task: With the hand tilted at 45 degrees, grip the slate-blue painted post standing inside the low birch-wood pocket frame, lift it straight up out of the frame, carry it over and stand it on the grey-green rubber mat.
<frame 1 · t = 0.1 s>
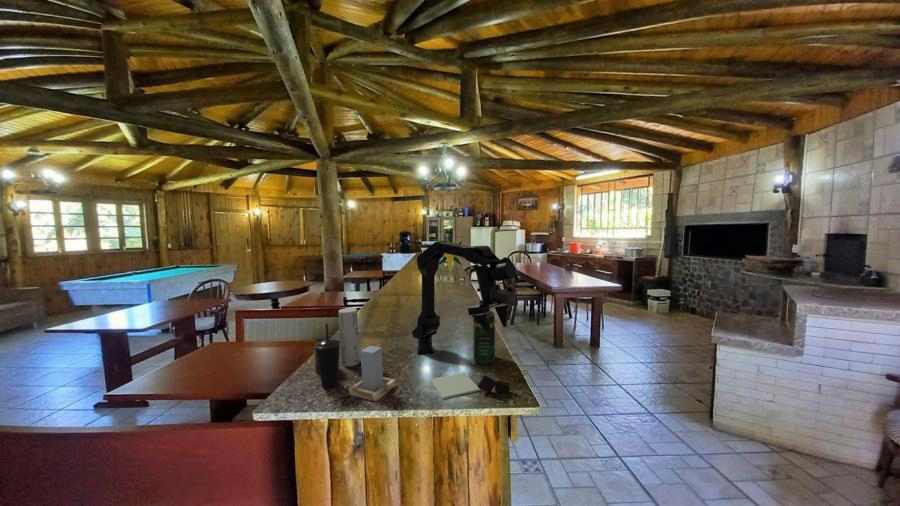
hand: (497, 330, 107), 15 cm above the table, tool pointing down, fingers open, 9 cm apart
spray can: (350, 363, 122), on the table
post: (372, 369, 101), in the pocket
lighter: (493, 392, 99), on the table
supplement bottle: (325, 370, 117), on the table
pocket: (373, 390, 102), on the table
coffee jar: (484, 360, 122), on the table
mat: (454, 385, 103), on the table
drinking cup: (330, 385, 106), on the table
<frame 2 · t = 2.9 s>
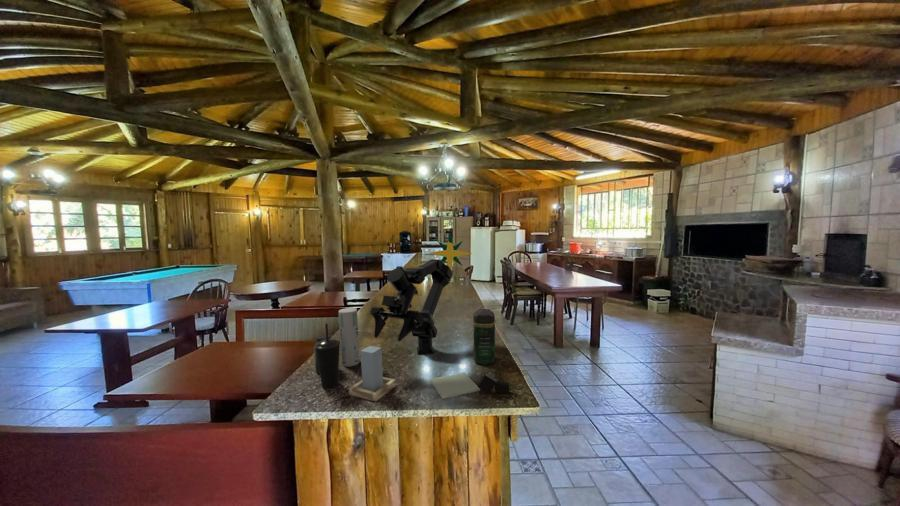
hand: (386, 339, 108), 13 cm above the table, tool tilted 45°, fingers open, 9 cm apart
nothing on the table moved.
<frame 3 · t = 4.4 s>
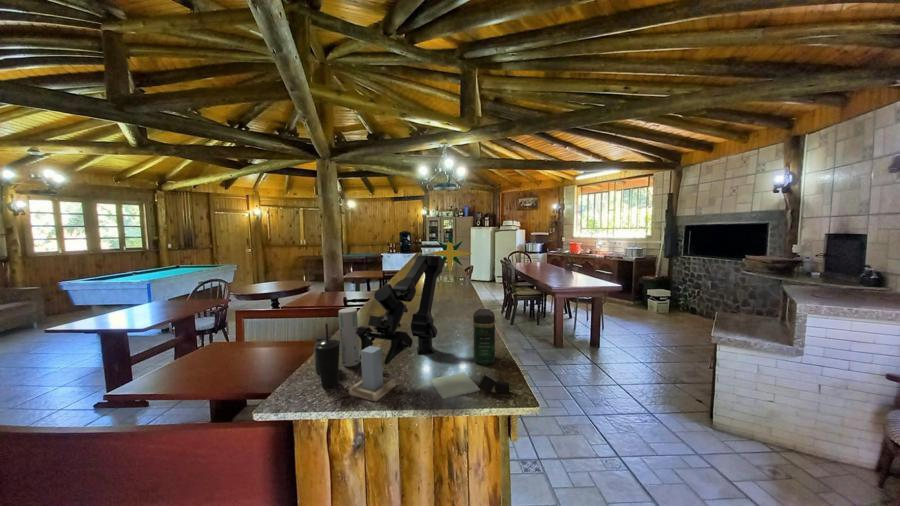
hand: (373, 361, 101), 9 cm above the table, tool tilted 45°, fingers open, 9 cm apart
nothing on the table moved.
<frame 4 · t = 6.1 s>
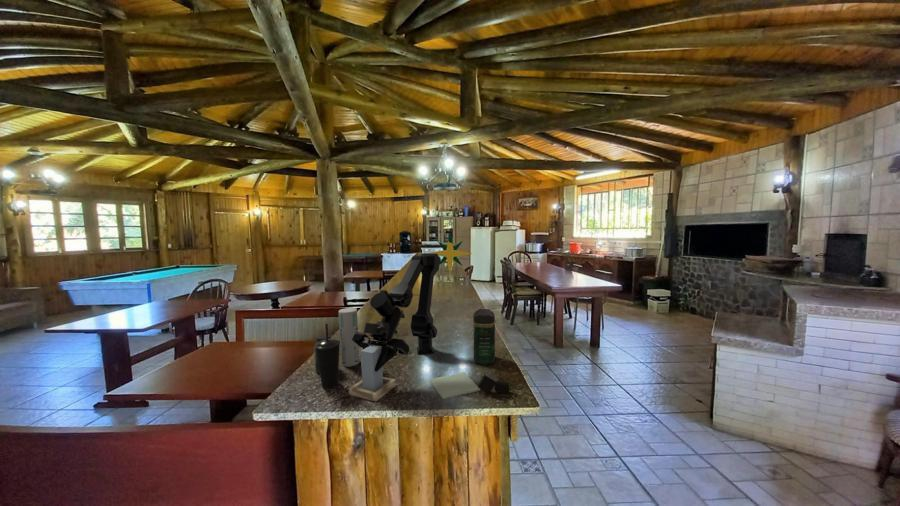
hand: (369, 369, 100), 7 cm above the table, tool tilted 45°, fingers closed on post, 4 cm apart
post: (372, 369, 101), in the pocket, touching gripper
everything else where it was.
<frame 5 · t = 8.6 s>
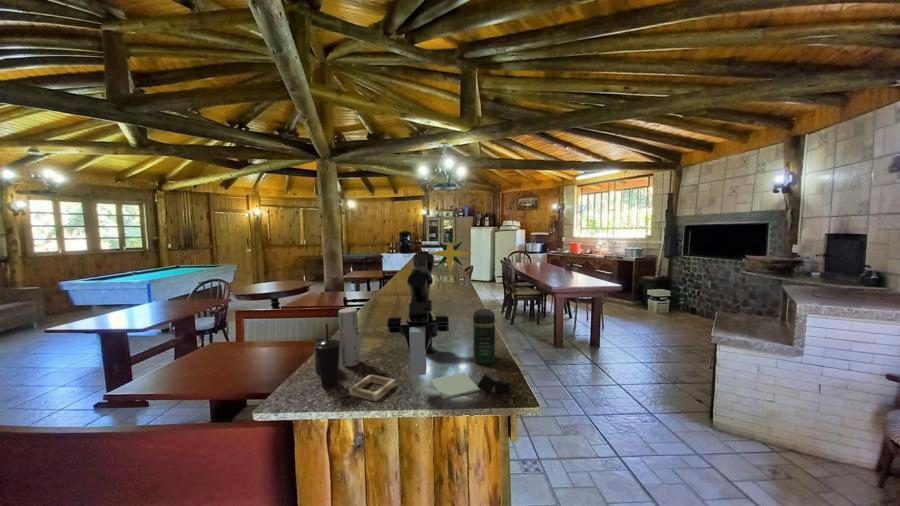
hand: (417, 350, 97), 13 cm above the table, tool tilted 45°, fingers closed on post, 4 cm apart
post: (418, 350, 99), point 13 cm above the table, touching gripper
everything else where it was.
when the fingers open (8 cm above the table, at t = 11.0 s): post stays where it is, resting on mat.
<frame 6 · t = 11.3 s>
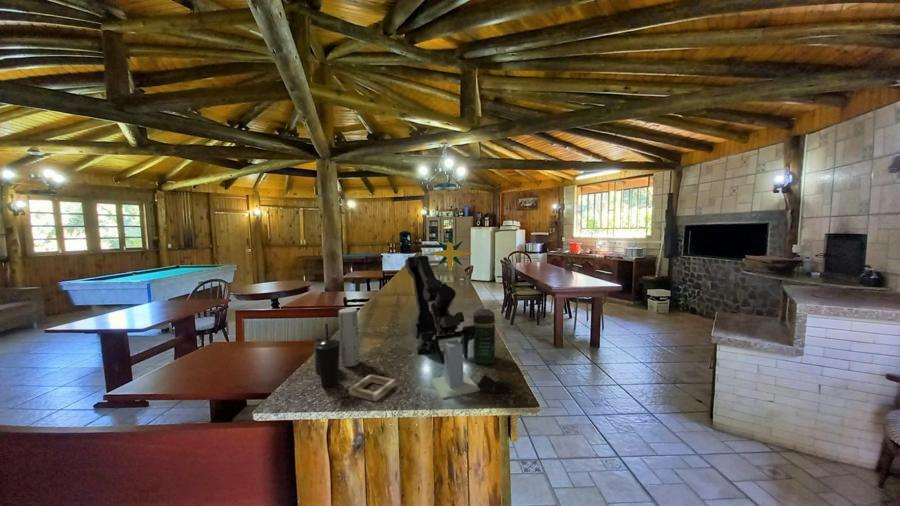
hand: (455, 361, 101), 8 cm above the table, tool tilted 45°, fingers open, 7 cm apart
post: (453, 363, 102), on the mat, point 7 cm above the table
everything else where it was.
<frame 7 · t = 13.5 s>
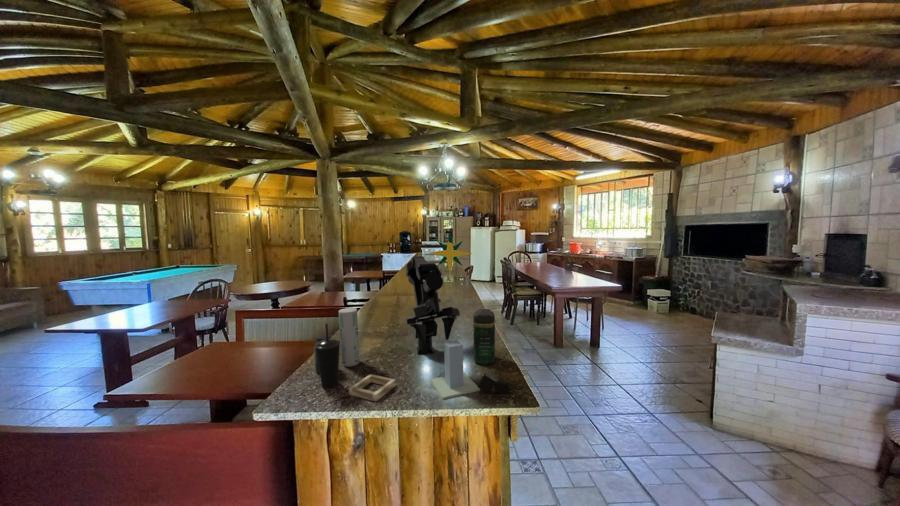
hand: (435, 342, 112), 10 cm above the table, tool tilted 25°, fingers open, 9 cm apart
nothing on the table moved.
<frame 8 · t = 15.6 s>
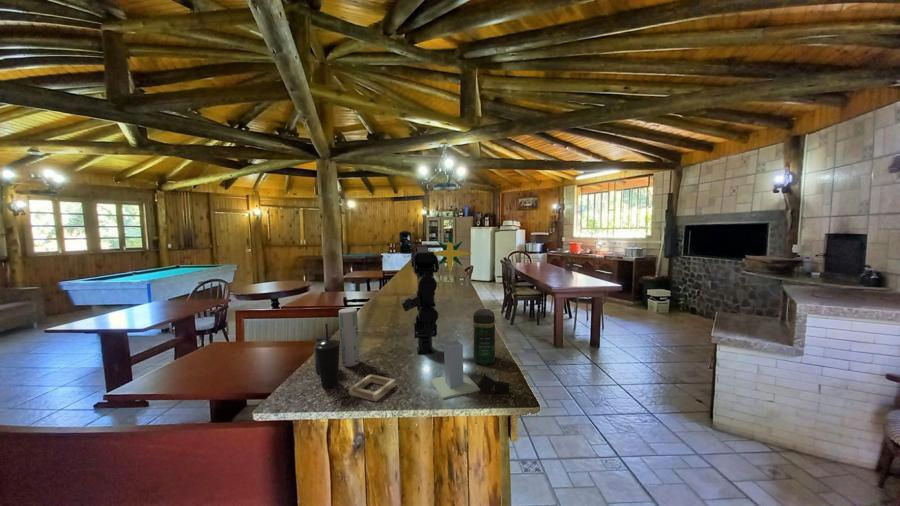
hand: (427, 332, 115), 13 cm above the table, tool pointing down, fingers open, 9 cm apart
nothing on the table moved.
at the end: post inside the target area on the mat (0.1 cm from its centre), point 7.1 cm above the mat's base; post tilted 0°; post touching mat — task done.
